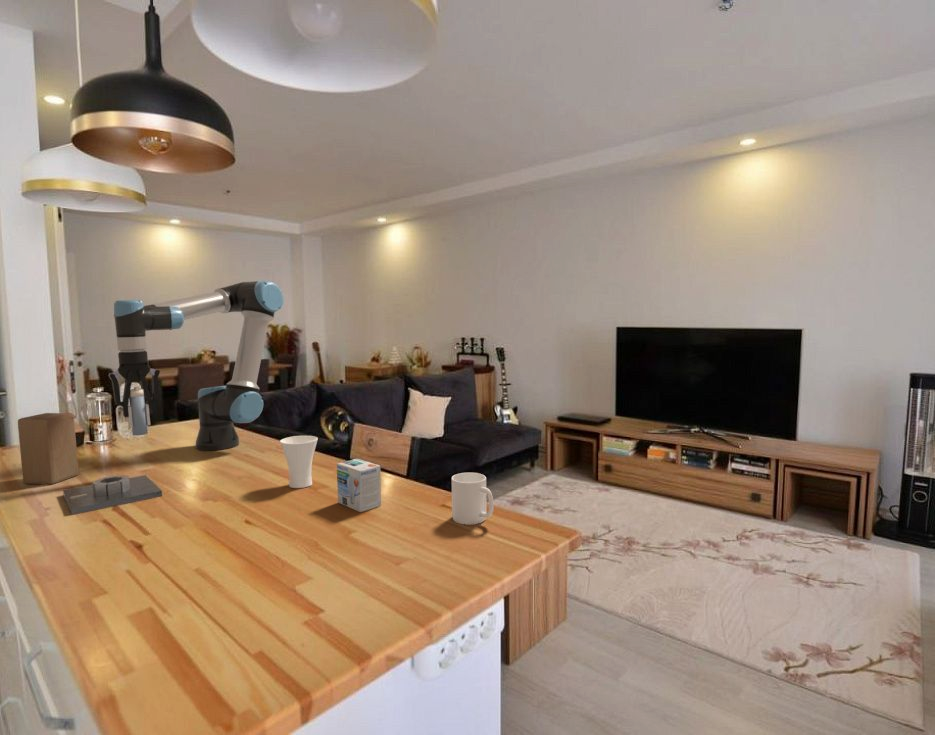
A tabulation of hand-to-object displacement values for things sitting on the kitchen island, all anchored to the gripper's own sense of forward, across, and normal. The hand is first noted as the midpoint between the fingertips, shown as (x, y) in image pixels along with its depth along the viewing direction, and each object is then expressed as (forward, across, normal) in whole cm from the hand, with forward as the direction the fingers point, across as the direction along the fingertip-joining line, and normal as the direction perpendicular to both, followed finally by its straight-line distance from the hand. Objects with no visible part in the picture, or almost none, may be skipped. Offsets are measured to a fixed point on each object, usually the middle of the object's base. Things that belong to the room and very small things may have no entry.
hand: (139, 425), depth 162 cm
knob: (+3, 0, 0) cm, 3 cm away
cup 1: (+16, -31, +44) cm, 57 cm away
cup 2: (+16, -49, +99) cm, 112 cm away
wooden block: (+16, +22, -15) cm, 31 cm away
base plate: (+16, +11, +16) cm, 25 cm away
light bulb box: (+16, -35, +70) cm, 80 cm away
